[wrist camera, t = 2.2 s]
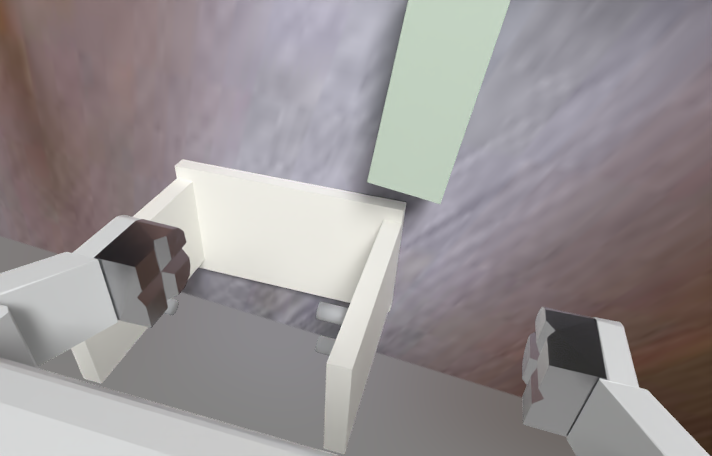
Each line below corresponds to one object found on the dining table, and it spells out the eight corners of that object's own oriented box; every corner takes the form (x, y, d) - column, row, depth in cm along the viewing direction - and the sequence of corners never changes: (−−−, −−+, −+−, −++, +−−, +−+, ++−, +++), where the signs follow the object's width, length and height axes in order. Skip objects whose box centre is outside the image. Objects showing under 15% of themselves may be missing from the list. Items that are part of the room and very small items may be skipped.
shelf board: (442, -87, 23) (426, -80, 19) (527, -66, 22) (529, -56, 18) (387, 143, 30) (367, 182, 26) (450, 161, 30) (440, 204, 26)
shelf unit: (406, 202, 32) (353, 355, 21) (392, 302, 37) (344, 464, 27) (182, 159, 35) (40, 276, 24) (198, 258, 40) (88, 388, 30)
